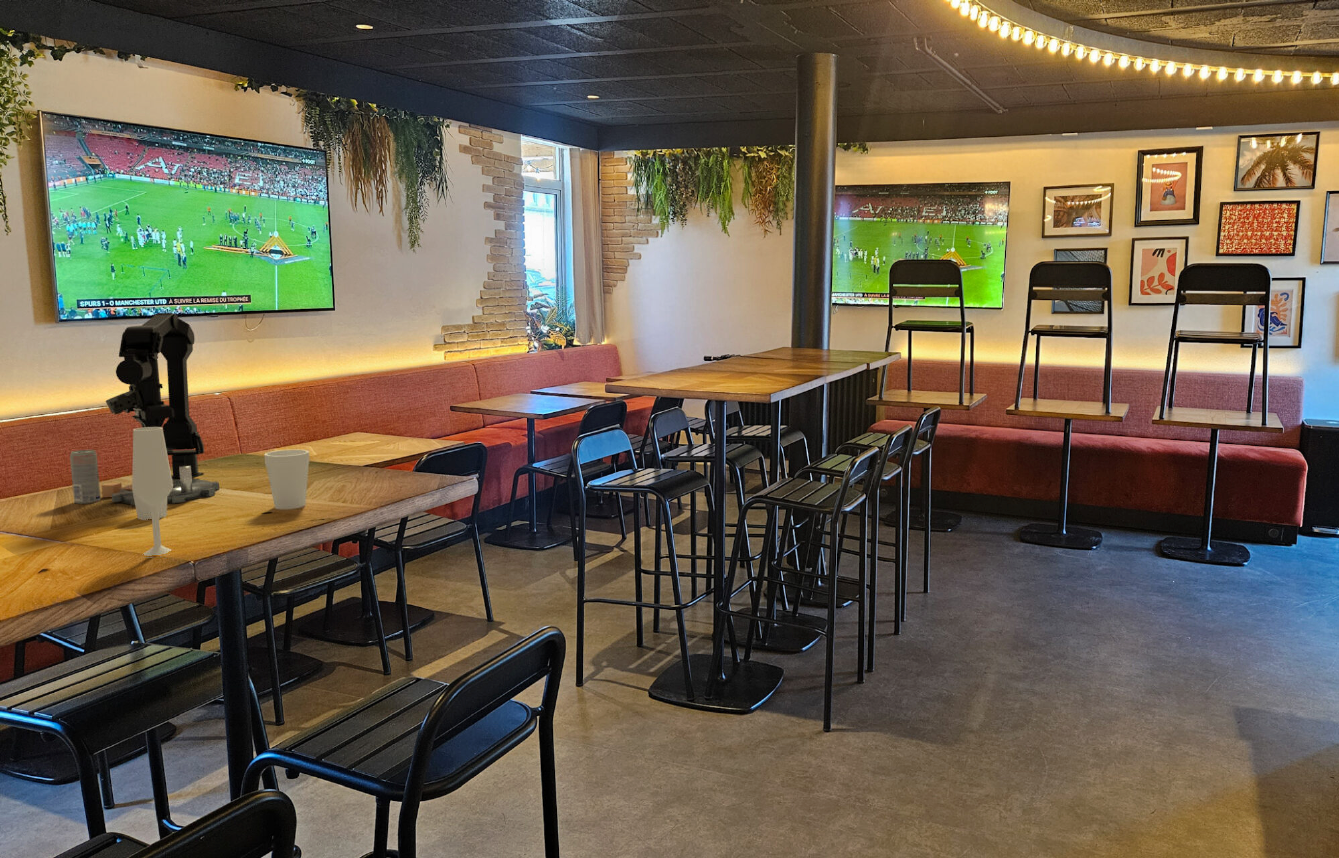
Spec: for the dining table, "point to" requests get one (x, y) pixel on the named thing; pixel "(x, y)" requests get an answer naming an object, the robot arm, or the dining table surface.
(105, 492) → the peach wooden cube
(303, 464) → the foam cup
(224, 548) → the dining table surface
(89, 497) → the energy drink
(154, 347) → the robot arm
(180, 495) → the sprocket
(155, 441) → the champagne flute
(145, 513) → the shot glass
